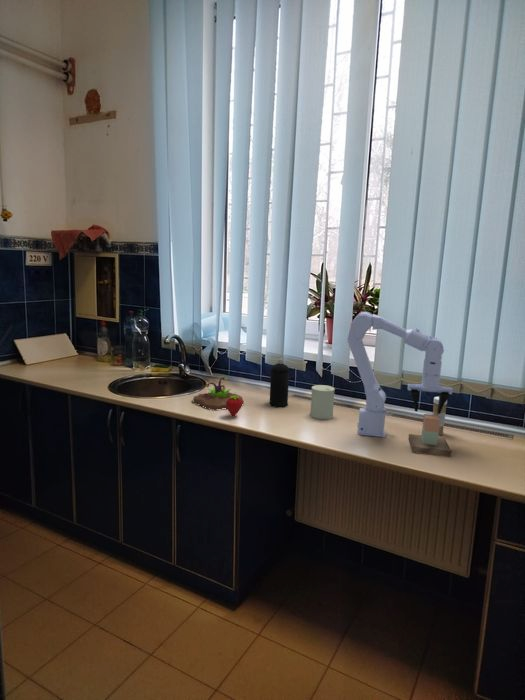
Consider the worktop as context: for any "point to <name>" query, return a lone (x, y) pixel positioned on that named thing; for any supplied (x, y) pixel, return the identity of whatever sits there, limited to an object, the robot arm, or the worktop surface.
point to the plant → (215, 397)
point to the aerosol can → (279, 384)
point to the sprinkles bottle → (441, 415)
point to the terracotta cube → (431, 423)
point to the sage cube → (429, 437)
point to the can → (322, 402)
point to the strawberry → (234, 404)
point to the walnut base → (429, 446)
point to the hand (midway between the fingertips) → (427, 411)
